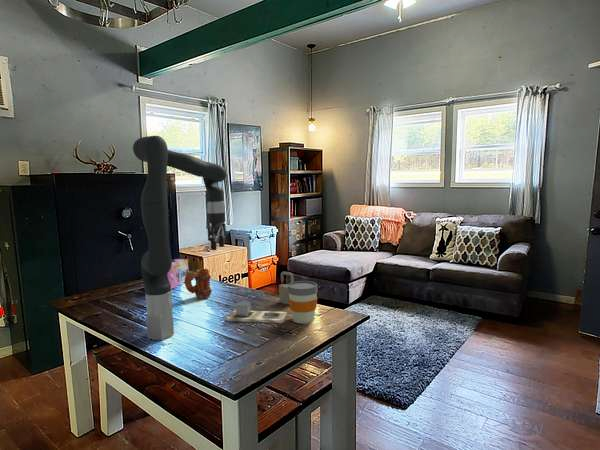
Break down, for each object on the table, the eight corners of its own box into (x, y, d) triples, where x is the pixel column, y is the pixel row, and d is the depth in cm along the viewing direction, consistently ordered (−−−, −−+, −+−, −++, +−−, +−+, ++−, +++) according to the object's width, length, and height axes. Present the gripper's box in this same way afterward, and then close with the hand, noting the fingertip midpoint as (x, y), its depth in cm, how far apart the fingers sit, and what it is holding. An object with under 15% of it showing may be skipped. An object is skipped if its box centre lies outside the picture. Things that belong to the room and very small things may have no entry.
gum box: (178, 279, 230) (177, 257, 228) (190, 280, 228) (189, 258, 226) (156, 291, 206) (154, 266, 205) (169, 291, 205) (167, 267, 203)
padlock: (283, 300, 185) (282, 270, 184) (297, 303, 181) (296, 272, 179) (278, 302, 182) (277, 271, 180) (291, 305, 177) (291, 274, 176)
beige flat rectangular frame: (287, 314, 165) (287, 311, 165) (282, 323, 155) (282, 320, 155) (234, 312, 169) (234, 310, 169) (226, 321, 160) (226, 318, 159)
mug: (206, 293, 199) (204, 265, 198) (216, 296, 194) (214, 267, 192) (181, 300, 188) (180, 271, 186) (191, 304, 183) (189, 273, 181)
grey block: (247, 319, 161) (247, 305, 160) (236, 318, 161) (235, 305, 161) (251, 315, 165) (250, 301, 165) (240, 314, 166) (239, 301, 166)
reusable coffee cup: (321, 315, 163) (320, 281, 162) (314, 326, 151) (313, 289, 150) (293, 313, 167) (292, 280, 165) (284, 323, 155) (283, 288, 153)
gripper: (217, 213, 158) (219, 251, 160) (230, 210, 172) (231, 245, 174) (201, 213, 159) (202, 251, 161) (214, 210, 173) (216, 245, 175)
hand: (217, 248), depth 167 cm, fingers open, 8 cm apart
